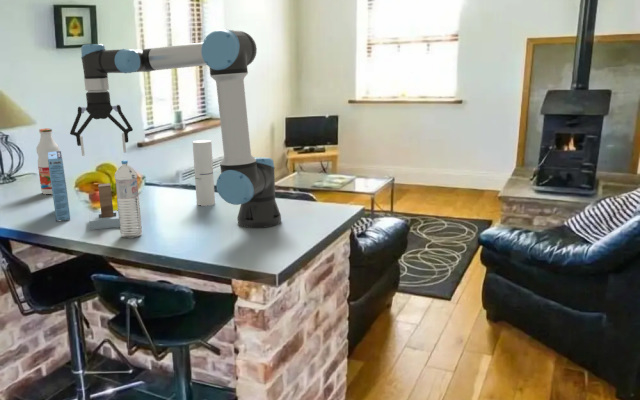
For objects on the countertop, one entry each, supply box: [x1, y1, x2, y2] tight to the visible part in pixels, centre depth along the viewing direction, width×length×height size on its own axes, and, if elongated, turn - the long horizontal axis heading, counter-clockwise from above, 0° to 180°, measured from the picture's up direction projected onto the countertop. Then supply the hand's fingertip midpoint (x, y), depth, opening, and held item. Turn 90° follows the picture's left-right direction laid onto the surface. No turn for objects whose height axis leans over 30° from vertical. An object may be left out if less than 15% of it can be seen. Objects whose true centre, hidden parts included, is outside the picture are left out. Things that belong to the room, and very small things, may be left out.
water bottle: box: [114, 159, 143, 239], centre depth 196 cm, size 7×7×25 cm
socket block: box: [88, 210, 120, 231], centre depth 213 cm, size 12×12×3 cm
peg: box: [97, 182, 114, 218], centre depth 212 cm, size 4×4×14 cm
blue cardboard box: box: [48, 150, 71, 221], centre depth 224 cm, size 20×5×23 cm, turn 23°
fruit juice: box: [35, 128, 60, 195], centre depth 262 cm, size 9×9×28 cm
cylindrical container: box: [192, 139, 216, 207], centre depth 236 cm, size 7×7×25 cm
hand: (104, 153), depth 208 cm, fingers open, 13 cm apart
